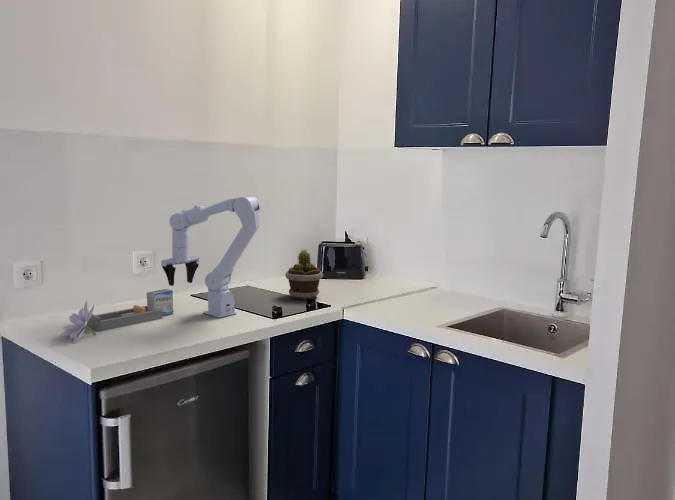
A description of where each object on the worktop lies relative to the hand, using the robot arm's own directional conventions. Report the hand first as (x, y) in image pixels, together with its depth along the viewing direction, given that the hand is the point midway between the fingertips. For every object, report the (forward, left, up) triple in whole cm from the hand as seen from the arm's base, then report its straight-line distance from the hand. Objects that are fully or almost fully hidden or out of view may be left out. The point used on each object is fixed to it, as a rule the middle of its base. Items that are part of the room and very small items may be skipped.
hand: (180, 283), depth 215 cm
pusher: (0, +19, -10) cm, 22 cm away
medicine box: (0, +8, -10) cm, 13 cm away
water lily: (-6, +40, -10) cm, 42 cm away
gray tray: (0, +22, -10) cm, 24 cm away
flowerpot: (-15, -48, -10) cm, 51 cm away
